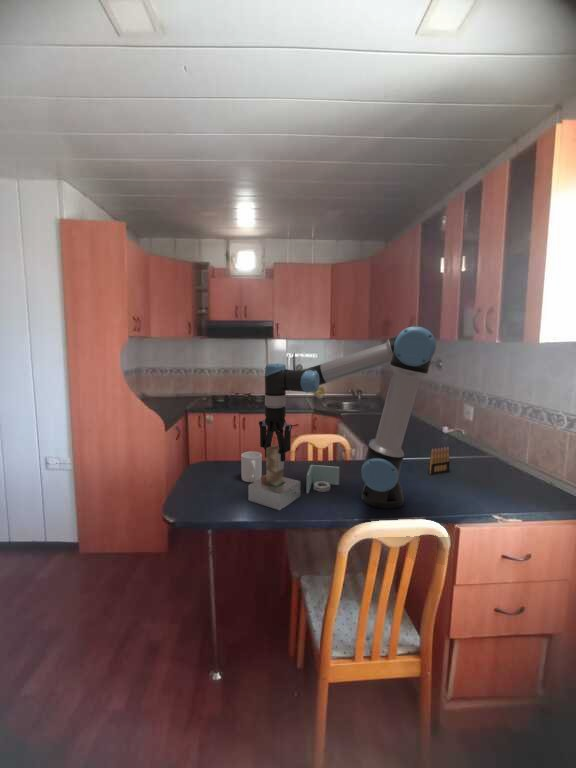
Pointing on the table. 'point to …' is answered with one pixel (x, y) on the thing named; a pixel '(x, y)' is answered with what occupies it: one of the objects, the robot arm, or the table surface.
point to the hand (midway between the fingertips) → (274, 467)
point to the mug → (251, 466)
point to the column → (273, 468)
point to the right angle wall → (322, 477)
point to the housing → (274, 493)
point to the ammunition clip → (439, 461)
